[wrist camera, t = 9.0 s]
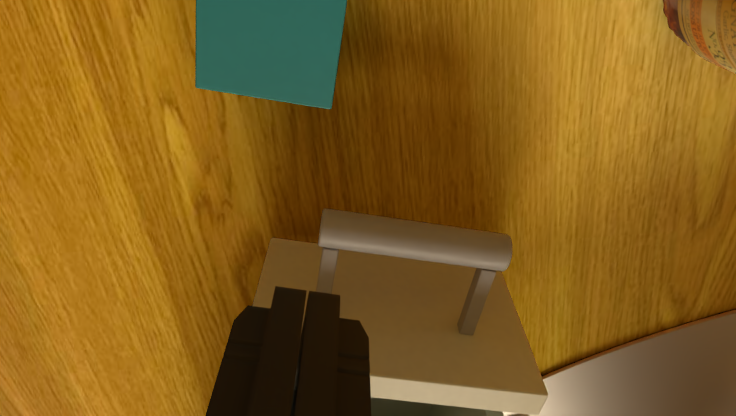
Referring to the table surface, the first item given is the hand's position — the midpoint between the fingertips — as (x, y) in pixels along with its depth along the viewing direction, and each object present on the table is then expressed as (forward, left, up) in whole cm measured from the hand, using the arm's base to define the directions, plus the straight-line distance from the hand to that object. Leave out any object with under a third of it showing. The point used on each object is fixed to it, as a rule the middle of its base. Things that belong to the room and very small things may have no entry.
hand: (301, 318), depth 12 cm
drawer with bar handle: (+4, -10, -12) cm, 16 cm away
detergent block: (-2, +5, -13) cm, 14 cm away
